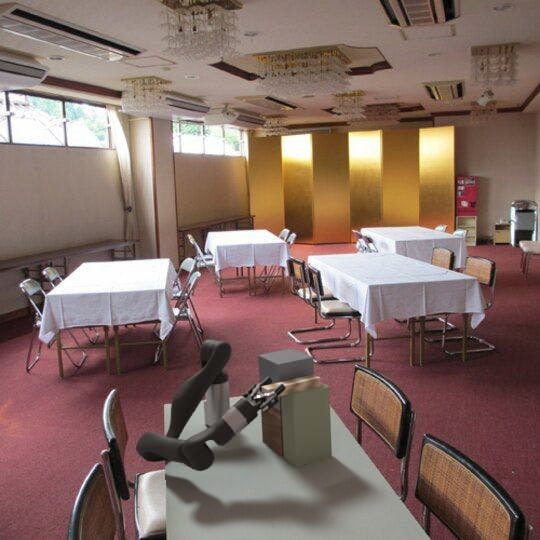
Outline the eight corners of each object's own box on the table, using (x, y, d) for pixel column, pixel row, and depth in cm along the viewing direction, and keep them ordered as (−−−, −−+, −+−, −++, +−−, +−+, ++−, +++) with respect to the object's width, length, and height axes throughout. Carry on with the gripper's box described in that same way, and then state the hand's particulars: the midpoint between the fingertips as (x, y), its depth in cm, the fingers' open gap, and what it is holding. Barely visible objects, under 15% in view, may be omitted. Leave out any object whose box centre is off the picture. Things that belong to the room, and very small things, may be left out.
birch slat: (267, 399, 179) (267, 389, 179) (261, 395, 183) (261, 386, 182) (320, 386, 189) (320, 377, 188) (314, 383, 192) (313, 374, 192)
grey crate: (280, 410, 190) (278, 364, 188) (260, 398, 202) (258, 355, 200) (315, 401, 197) (313, 357, 195) (294, 390, 209) (292, 348, 207)
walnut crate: (282, 456, 192) (280, 410, 190) (262, 441, 204) (260, 398, 202) (316, 445, 199) (315, 401, 197) (295, 432, 211) (294, 390, 209)
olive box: (296, 466, 184) (293, 395, 181) (283, 457, 191) (280, 388, 188) (331, 455, 191) (329, 386, 188) (318, 446, 198) (315, 380, 195)
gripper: (235, 417, 185) (272, 384, 190) (255, 432, 172) (294, 397, 178) (223, 400, 182) (261, 368, 188) (243, 414, 170) (283, 379, 175)
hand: (277, 382), depth 183 cm, fingers open, 8 cm apart
